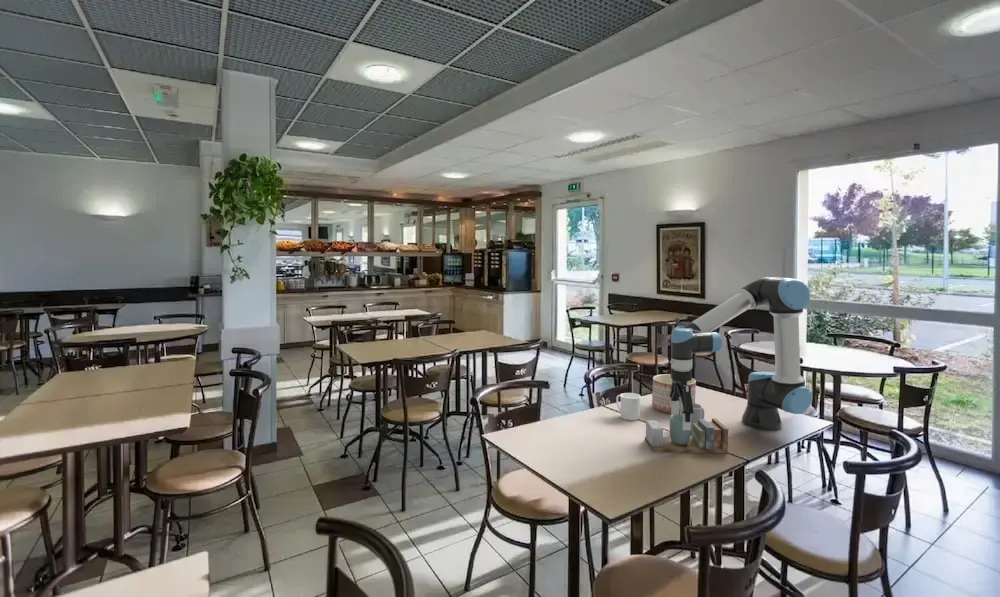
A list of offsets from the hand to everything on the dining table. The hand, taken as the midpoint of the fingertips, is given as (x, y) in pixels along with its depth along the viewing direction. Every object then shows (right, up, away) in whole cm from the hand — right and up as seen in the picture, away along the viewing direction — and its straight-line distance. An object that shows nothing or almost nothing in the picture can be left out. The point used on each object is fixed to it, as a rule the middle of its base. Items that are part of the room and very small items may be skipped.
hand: (680, 423), depth 188 cm
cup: (0, -8, +1) cm, 8 cm away
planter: (+13, -5, +45) cm, 47 cm away
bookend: (-10, -7, +1) cm, 13 cm away
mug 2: (+12, -8, +18) cm, 23 cm away
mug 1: (-12, -6, +34) cm, 36 cm away
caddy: (+2, -9, +1) cm, 9 cm away
